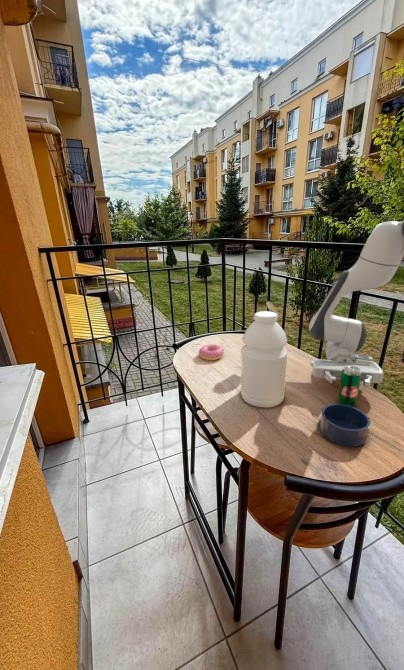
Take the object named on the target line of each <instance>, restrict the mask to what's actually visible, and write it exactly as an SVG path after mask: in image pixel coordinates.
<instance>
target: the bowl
mask: <svg viewBox="0 0 404 670" xmlns="http://www.w3.org/2000/svg"><path fill="white" fill-rule="evenodd" d="M370 427H371V419H370V418H369V416H368V414H366V413H365V412H364V411H363V410H361V409H359V408H357V407H355V406H354V407H352V406H349V405H344V404H339V403H331V404H327V405H325V406H324V407H323V408H322V409H321V414H320V423H319V430H320V432H321V434H322V436H324V438H326V439H327V440H328V441H330V442H332V443H334V444H336V445H338V446H341V447H345V448H346V447H347V448H358V447H361V446H363V445H364V444H366V443H367V441H368V437H369V432H370Z"/></svg>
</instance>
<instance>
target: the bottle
mask: <svg viewBox="0 0 404 670" xmlns="http://www.w3.org/2000/svg"><path fill="white" fill-rule="evenodd" d="M253 320H254V321H253V322H251V324H250V325H249V326H248V327H247V328H246V330H245V332H244V333H243V335H242V338H241V339H242V342H243V344H244V345H243V346H242V348H241V349H240V356H241V357H240V359H241V361H240V363H241V365H240V368H241V369H240V395H241V398H242V399H243V400H244V401H245V402H246V403H247V404H249V405H251V406H253V407H257V408H273V407H276V406H278V405H280V404H281V403H282V402H283V401H284V399H285V393H286V391H285V390H286V389H285V388H286V387H285V386H286V376H287V375H286V374H287V361H288V355H289V354H288V350H287V348H286V347H285V346H286V345H287V344H288V338H287V335H286V332H285V331H284V329H283V327H282V326H281V325H280V324H279V323H278V322H277V321H278V318H277V314H276V313H274V312H270V311H269V310H260V311H257V312H255V313H254V314H253Z"/></svg>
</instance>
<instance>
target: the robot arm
mask: <svg viewBox="0 0 404 670" xmlns="http://www.w3.org/2000/svg"><path fill="white" fill-rule="evenodd" d="M403 258H404V219H403V220H402V221H396V220H389V221H384V222H381V223H379V224H377V225H375V227H374V229H373V230H372V232H371V234H370V235H368V238H367V240H366V242H365V243H364V245H363V247H362V249H361V252H360V255H359V256H358V259H357V261H356V262H355V263H354V264H353V265H352V266H351V267H350V268H349V269H347V270H344V271H342V272H341V273H340V274H339V275H338V277H337V278H336V280H335V282H333V284H332V286H331V288H330V289H329V291H328V292H327V294H326V296H325V297H324V299H323V301H322V303H321V304H320V306H319V308H318V309H317V311H316V312H315V314H314V315H313V316H312V318H311V320H310V321H309V323H308V333H309V334H310V336H311V337H312V338H313V339H314V340H317V341H325V342H326V344H325V350H324V351H325V356H326V359H323V358H322V359H321V358H315V359H314V360H311V361H310V366H311V367H312V371H311V375H312V376H313V377H314V378H319V379H325V380H327V381H328V382H329V384H336V380H339V381H340V380H341V374H342V370H343V369H344V367H345V366H355V367H358V368H359V369H360V372H361V379H360V383H362V386H363V387H365V388H371V384H381V383H382V382H383V379H384V371H383V369H382V368H381V367H380V366H379V364H378V363H376V362H375V361H374V359H373V357H372V356H369V355H364V354H360V353H357V352H358V351H360V350H361V348H362V347H363V346H364V344H365V342H366V338H367V328H366V327H365V324H364V323H363V321H361V320H359V319H355V318H350V317H344V316H341V315H335V314H333V312H334V310H336V307H337V305H338V304H339V303H340V301H341V299H342V298H343V297H344V296H346V295H347V294H350V293H353V292H358V291H367V290H372V289H377V288H380V287H383V286H384V285H386V284H387V283H389V282H390V281H391V280H392V279H393V277H394V276H395V274H396V272H397V270H398V269H399V266H400V264H401V263H402V260H403Z"/></svg>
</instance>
